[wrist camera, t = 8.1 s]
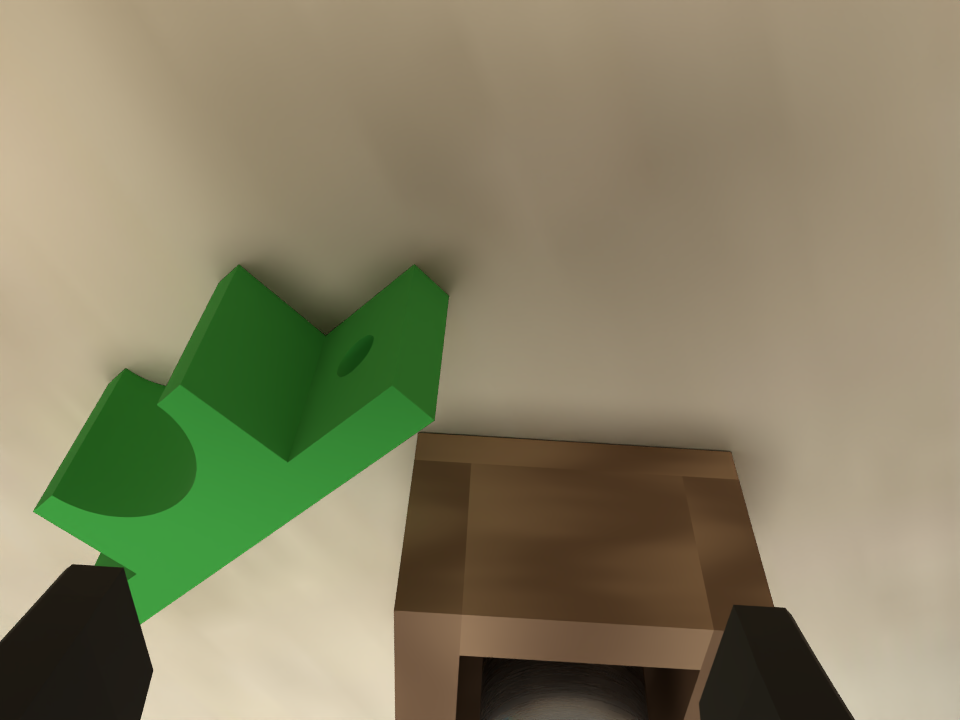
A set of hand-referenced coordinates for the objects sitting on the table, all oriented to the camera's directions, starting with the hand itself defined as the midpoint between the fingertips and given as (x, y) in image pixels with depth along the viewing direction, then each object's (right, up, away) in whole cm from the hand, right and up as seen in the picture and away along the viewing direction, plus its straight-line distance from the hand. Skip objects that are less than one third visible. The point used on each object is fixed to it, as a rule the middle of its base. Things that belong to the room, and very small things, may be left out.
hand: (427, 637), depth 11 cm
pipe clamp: (-5, +3, +11) cm, 13 cm away
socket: (+3, -2, +14) cm, 15 cm away
